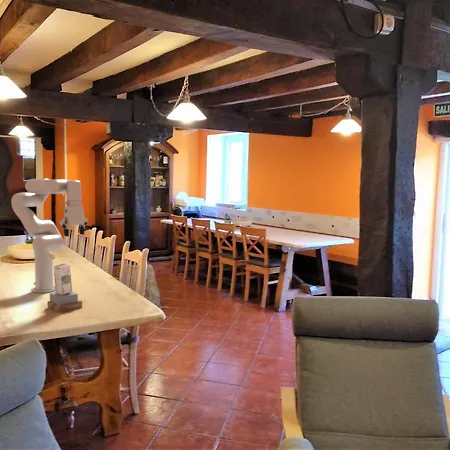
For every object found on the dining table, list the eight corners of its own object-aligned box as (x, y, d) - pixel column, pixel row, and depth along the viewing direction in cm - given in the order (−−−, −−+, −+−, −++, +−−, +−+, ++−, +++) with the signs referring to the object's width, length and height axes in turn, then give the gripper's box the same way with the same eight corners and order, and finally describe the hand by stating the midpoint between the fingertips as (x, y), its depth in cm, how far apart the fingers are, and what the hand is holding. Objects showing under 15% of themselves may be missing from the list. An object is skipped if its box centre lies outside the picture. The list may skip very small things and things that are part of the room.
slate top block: (50, 300, 237) (49, 293, 236) (68, 297, 244) (68, 290, 243) (58, 305, 230) (58, 297, 229) (77, 301, 236) (77, 294, 236)
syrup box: (65, 290, 240) (62, 263, 238) (72, 292, 237) (69, 264, 235) (55, 293, 236) (52, 265, 233) (63, 295, 232) (60, 266, 230)
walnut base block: (47, 309, 236) (47, 301, 236) (68, 304, 245) (68, 296, 245) (61, 314, 229) (61, 306, 228) (82, 308, 238) (82, 301, 238)
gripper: (64, 204, 241) (64, 237, 243) (91, 203, 255) (92, 234, 256) (55, 203, 245) (56, 236, 247) (83, 202, 259) (83, 233, 261)
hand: (74, 235), depth 252 cm, fingers open, 9 cm apart
